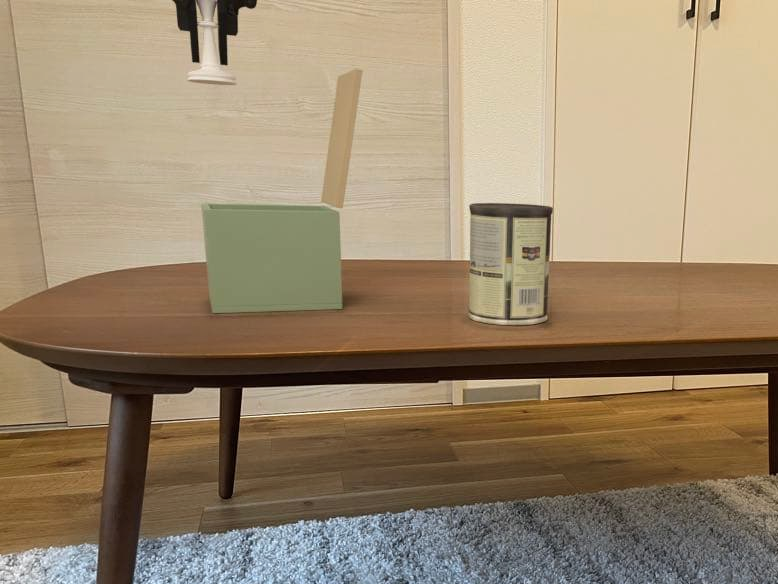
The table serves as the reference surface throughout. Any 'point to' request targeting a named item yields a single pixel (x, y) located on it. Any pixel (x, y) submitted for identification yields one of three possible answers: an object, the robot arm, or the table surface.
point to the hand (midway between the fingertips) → (209, 55)
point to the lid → (341, 138)
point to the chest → (272, 257)
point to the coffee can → (509, 263)
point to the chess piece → (209, 50)
